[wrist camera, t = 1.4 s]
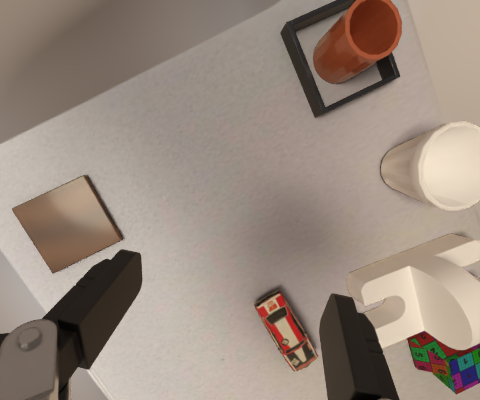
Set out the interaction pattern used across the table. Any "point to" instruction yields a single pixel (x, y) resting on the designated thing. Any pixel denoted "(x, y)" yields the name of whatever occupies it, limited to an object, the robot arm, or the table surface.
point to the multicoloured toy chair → (446, 361)
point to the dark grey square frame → (302, 68)
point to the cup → (438, 167)
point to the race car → (286, 330)
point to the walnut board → (67, 223)
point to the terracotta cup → (358, 40)
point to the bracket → (423, 293)
